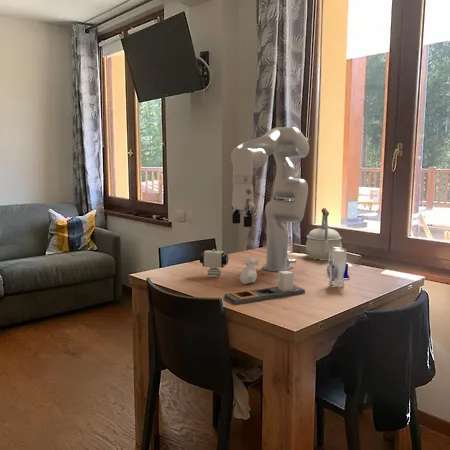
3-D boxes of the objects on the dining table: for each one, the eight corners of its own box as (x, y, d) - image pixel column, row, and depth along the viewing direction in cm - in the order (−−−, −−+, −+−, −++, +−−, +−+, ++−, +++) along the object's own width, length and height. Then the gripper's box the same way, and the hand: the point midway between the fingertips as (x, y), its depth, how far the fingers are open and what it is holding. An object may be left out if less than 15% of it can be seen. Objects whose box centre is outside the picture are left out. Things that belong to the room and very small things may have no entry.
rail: (292, 287, 177) (292, 283, 177) (304, 293, 170) (304, 288, 170) (224, 298, 164) (224, 293, 163) (234, 304, 157) (235, 299, 156)
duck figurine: (250, 291, 180) (268, 269, 179) (235, 280, 179) (253, 258, 178) (247, 283, 192) (263, 262, 191) (233, 272, 191) (250, 251, 190)
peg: (286, 290, 174) (287, 270, 172) (292, 293, 170) (293, 272, 169) (278, 291, 172) (278, 271, 171) (284, 294, 168) (284, 273, 167)
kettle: (304, 252, 244) (306, 206, 241) (339, 253, 242) (341, 207, 238) (306, 263, 220) (308, 212, 216) (344, 264, 217) (347, 213, 214)
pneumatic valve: (225, 278, 190) (226, 251, 188) (199, 277, 192) (199, 249, 191) (228, 275, 195) (229, 248, 193) (202, 273, 198) (202, 247, 196)
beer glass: (335, 288, 176) (337, 251, 174) (323, 284, 183) (325, 248, 180) (348, 286, 180) (350, 249, 177) (337, 282, 186) (338, 246, 184)
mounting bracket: (327, 269, 209) (327, 257, 208) (343, 270, 208) (343, 257, 207) (331, 280, 191) (332, 266, 190) (349, 280, 190) (349, 266, 189)
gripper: (262, 181, 166) (261, 227, 168) (241, 179, 181) (240, 221, 184) (244, 181, 162) (243, 228, 165) (224, 179, 178) (223, 222, 180)
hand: (241, 225), depth 174 cm, fingers open, 9 cm apart
